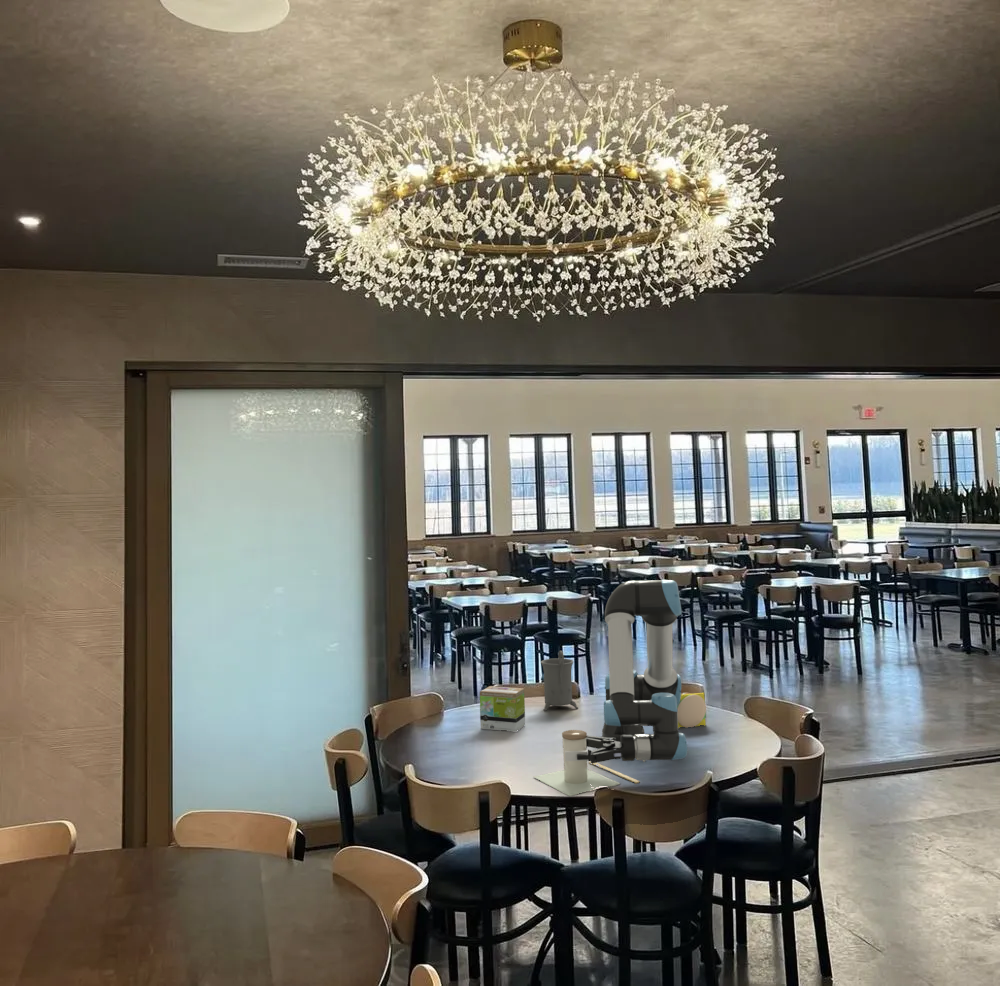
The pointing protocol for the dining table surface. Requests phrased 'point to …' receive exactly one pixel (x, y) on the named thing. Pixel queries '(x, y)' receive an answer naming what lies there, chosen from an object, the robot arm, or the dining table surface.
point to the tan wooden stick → (618, 773)
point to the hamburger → (691, 710)
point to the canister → (575, 769)
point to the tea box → (502, 708)
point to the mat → (570, 789)
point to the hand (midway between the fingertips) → (563, 749)
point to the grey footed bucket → (558, 681)
